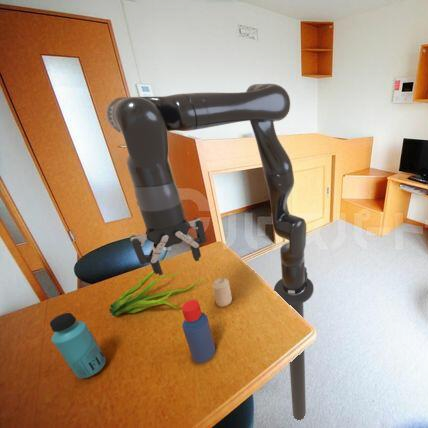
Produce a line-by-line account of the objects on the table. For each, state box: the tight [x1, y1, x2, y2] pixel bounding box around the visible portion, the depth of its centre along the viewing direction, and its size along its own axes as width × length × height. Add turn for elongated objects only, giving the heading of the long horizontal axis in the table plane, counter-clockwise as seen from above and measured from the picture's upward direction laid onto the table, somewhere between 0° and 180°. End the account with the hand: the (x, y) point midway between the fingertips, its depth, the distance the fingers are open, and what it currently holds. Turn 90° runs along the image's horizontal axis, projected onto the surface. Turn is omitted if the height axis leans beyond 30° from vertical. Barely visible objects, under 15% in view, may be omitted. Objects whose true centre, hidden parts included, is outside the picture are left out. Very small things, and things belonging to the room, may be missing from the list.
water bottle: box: [181, 311, 216, 364], centre depth 66 cm, size 6×6×18 cm
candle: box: [211, 277, 233, 308], centre depth 87 cm, size 6×6×10 cm
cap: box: [181, 299, 202, 322], centre depth 63 cm, size 4×4×4 cm
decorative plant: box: [108, 255, 210, 317], centre depth 86 cm, size 18×30×15 cm, turn 94°
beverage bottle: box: [49, 312, 107, 379], centre depth 61 cm, size 6×7×20 cm
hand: (179, 266), depth 57 cm, fingers open, 7 cm apart
